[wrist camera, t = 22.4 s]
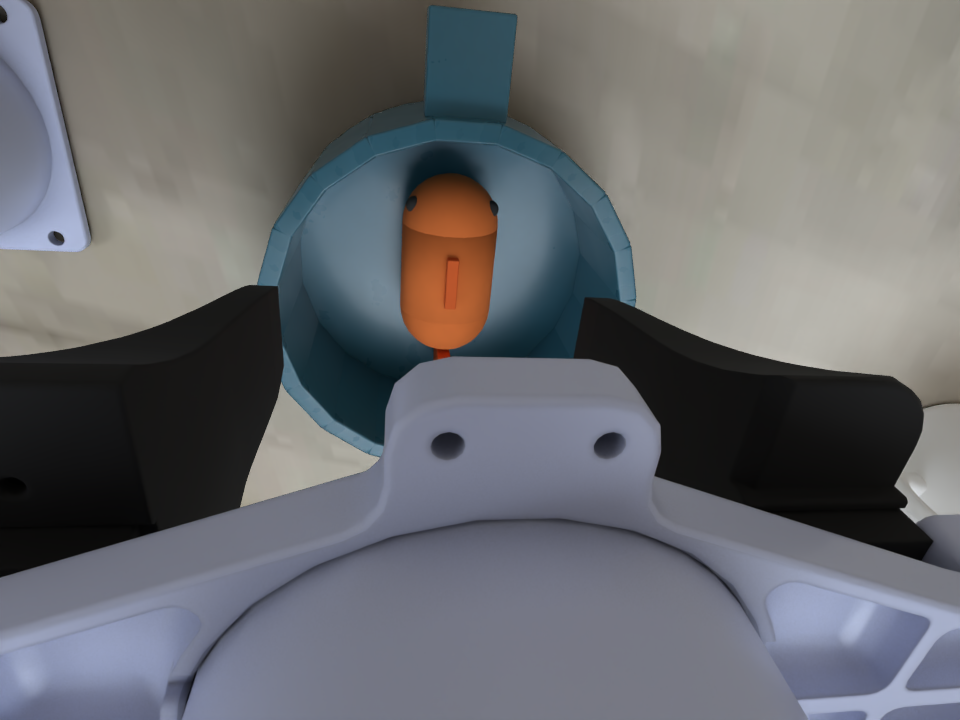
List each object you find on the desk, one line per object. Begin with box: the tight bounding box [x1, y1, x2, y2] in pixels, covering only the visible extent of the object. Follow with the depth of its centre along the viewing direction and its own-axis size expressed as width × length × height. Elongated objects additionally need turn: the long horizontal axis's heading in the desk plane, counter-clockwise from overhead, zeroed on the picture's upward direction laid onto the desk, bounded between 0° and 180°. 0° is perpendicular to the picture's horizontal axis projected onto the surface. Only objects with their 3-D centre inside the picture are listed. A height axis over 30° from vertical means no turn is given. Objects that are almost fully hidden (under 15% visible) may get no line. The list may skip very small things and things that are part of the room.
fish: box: [400, 173, 499, 360], centre depth 22 cm, size 8×3×4 cm, turn 175°
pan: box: [257, 5, 636, 457], centre depth 22 cm, size 12×18×6 cm
